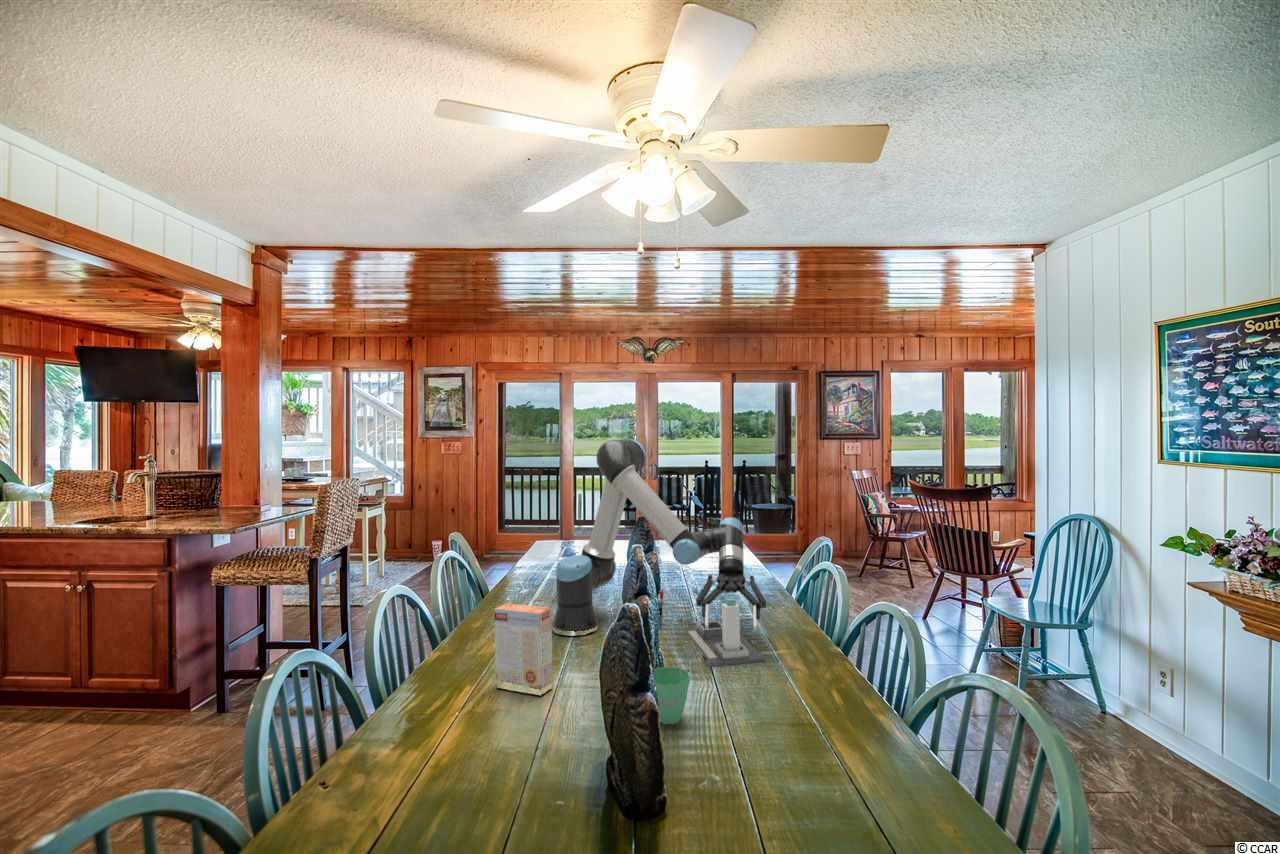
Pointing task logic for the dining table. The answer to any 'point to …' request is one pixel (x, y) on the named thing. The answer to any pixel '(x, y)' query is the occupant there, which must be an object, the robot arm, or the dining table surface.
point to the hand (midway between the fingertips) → (730, 628)
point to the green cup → (671, 693)
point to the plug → (730, 625)
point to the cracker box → (523, 645)
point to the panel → (721, 646)
